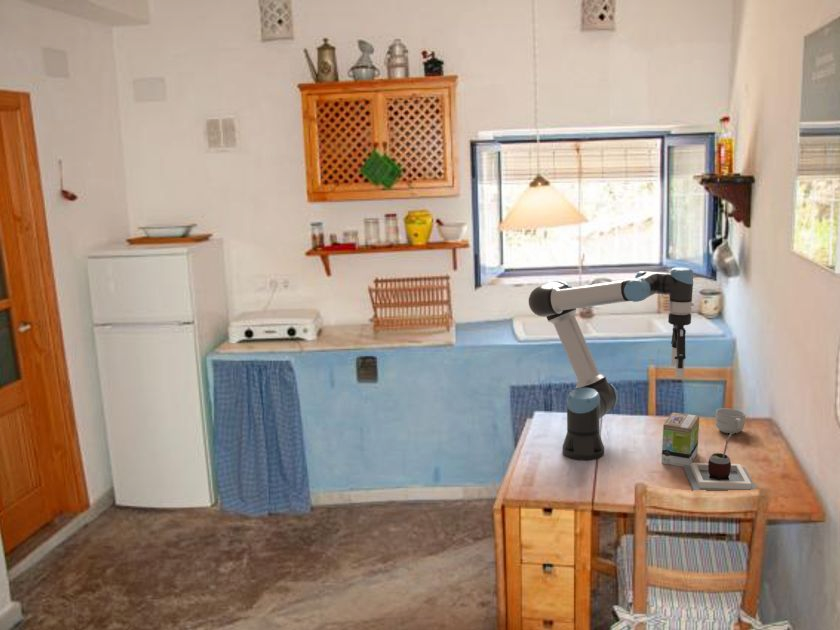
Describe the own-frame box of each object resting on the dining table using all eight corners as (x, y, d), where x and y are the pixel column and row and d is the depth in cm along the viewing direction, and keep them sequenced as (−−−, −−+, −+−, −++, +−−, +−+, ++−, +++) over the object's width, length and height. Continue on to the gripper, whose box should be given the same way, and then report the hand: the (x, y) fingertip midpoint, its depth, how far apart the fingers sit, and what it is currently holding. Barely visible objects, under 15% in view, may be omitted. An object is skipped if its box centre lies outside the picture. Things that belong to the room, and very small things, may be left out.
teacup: (712, 426, 312) (713, 407, 310) (740, 426, 310) (741, 407, 309) (720, 439, 299) (721, 419, 297) (750, 439, 297) (751, 419, 295)
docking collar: (693, 493, 254) (694, 484, 254) (683, 468, 274) (684, 460, 273) (759, 495, 251) (759, 486, 250) (744, 469, 270) (744, 461, 270)
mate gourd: (708, 481, 260) (709, 439, 257) (707, 472, 267) (708, 430, 264) (732, 483, 258) (734, 440, 254) (730, 474, 265) (732, 432, 262)
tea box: (690, 468, 274) (691, 428, 270) (660, 463, 278) (661, 424, 275) (698, 453, 286) (699, 414, 283) (670, 449, 291) (671, 411, 288)
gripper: (696, 320, 260) (692, 382, 265) (686, 305, 284) (683, 361, 289) (672, 320, 262) (669, 381, 267) (665, 304, 286) (662, 360, 290)
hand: (677, 371), depth 278 cm, fingers open, 13 cm apart
